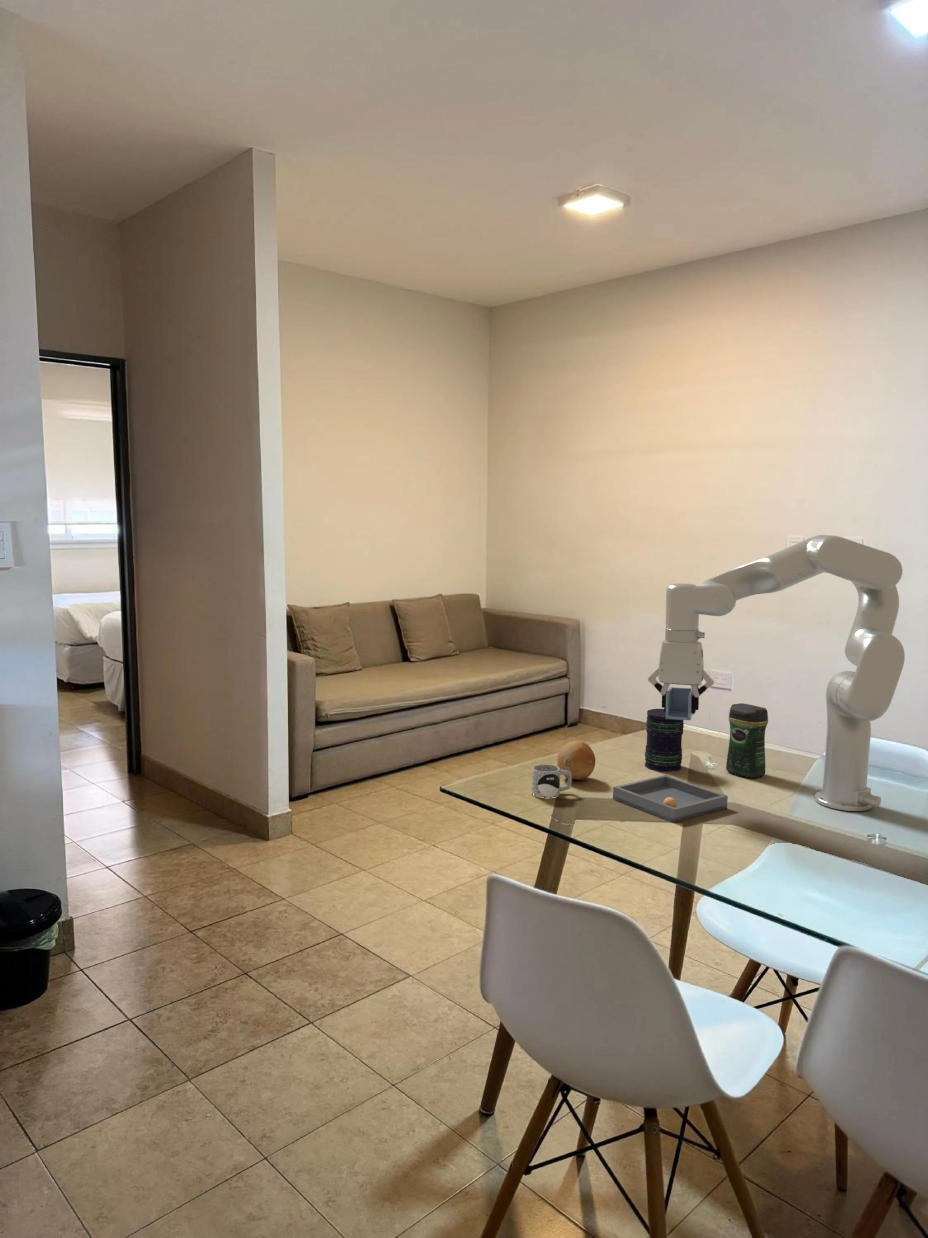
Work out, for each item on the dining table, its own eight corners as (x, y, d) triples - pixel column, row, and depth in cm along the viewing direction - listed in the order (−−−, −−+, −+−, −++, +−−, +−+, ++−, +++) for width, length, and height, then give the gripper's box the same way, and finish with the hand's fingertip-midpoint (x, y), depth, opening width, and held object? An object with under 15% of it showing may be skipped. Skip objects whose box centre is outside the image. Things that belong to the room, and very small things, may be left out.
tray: (726, 808, 202) (727, 796, 202) (674, 822, 192) (674, 809, 192) (664, 786, 218) (665, 775, 217) (612, 799, 207) (613, 787, 207)
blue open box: (669, 711, 211) (670, 687, 211) (693, 713, 209) (694, 688, 209) (665, 718, 204) (665, 693, 203) (690, 720, 202) (691, 695, 201)
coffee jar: (770, 775, 229) (774, 706, 226) (751, 780, 224) (756, 710, 222) (739, 767, 236) (742, 699, 234) (720, 771, 232) (724, 703, 229)
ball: (668, 813, 199) (680, 809, 197) (662, 811, 196) (674, 807, 195) (665, 800, 200) (677, 796, 199) (659, 798, 198) (671, 794, 196)
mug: (537, 800, 206) (538, 773, 205) (527, 791, 212) (528, 765, 211) (576, 797, 208) (577, 770, 208) (565, 789, 215) (566, 762, 214)
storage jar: (682, 773, 229) (685, 718, 228) (644, 770, 231) (646, 715, 230) (680, 763, 239) (683, 709, 237) (644, 760, 241) (646, 707, 239)
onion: (552, 782, 219) (553, 744, 218) (561, 772, 229) (562, 734, 228) (590, 787, 216) (592, 748, 215) (597, 776, 226) (599, 738, 224)
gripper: (720, 635, 205) (718, 711, 207) (647, 632, 211) (645, 706, 213) (718, 640, 198) (716, 718, 200) (642, 637, 204) (640, 712, 206)
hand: (679, 711), depth 206 cm, fingers closed on blue open box, 5 cm apart
